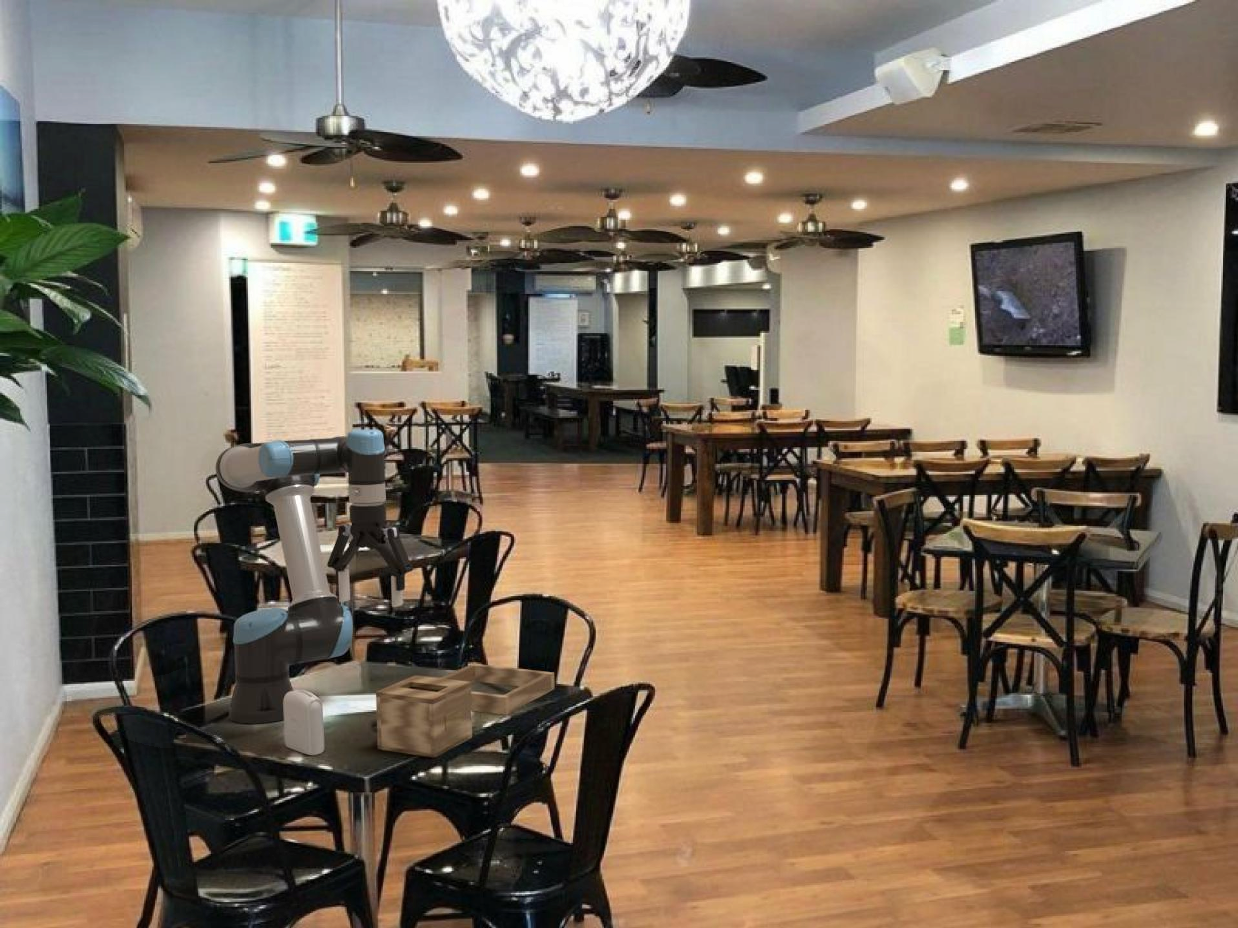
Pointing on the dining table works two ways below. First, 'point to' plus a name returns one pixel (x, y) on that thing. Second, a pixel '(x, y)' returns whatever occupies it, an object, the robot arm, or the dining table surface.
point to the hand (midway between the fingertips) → (370, 603)
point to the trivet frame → (526, 680)
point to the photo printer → (303, 722)
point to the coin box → (424, 715)
